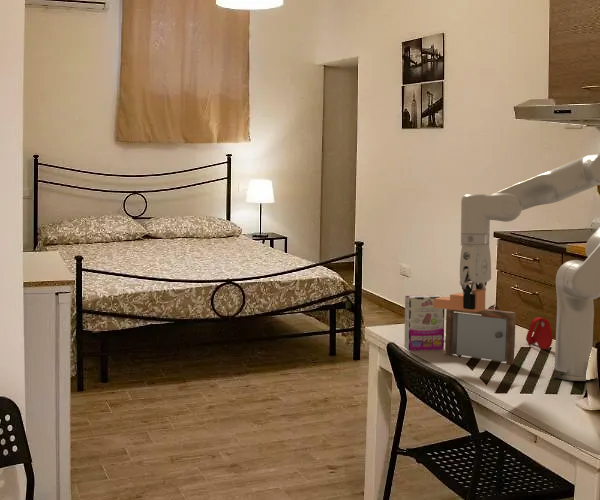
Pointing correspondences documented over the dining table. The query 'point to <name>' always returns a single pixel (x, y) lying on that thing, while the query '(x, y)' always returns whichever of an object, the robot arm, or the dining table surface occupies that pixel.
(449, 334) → the brown door frame
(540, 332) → the tracker holder
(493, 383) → the dining table surface
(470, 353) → the door
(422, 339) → the candy bar box
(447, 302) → the orange stepped block
